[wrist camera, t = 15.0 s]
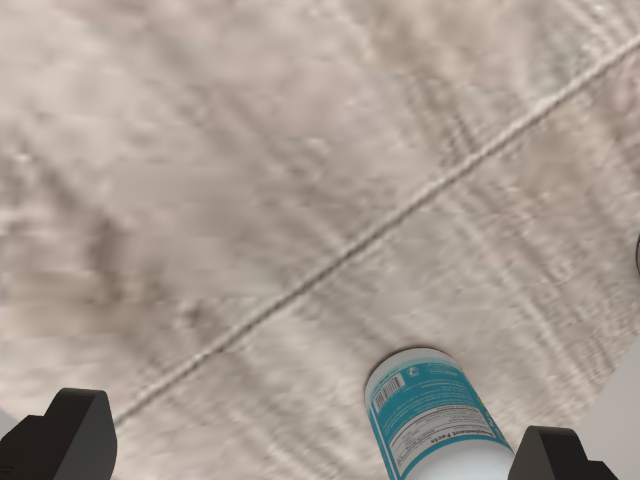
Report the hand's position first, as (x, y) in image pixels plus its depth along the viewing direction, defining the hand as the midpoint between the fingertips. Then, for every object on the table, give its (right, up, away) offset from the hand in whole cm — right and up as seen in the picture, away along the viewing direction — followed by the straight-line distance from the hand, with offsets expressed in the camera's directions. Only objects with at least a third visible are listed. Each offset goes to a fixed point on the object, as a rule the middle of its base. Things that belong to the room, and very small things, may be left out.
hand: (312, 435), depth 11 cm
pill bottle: (+7, -7, +30) cm, 31 cm away
